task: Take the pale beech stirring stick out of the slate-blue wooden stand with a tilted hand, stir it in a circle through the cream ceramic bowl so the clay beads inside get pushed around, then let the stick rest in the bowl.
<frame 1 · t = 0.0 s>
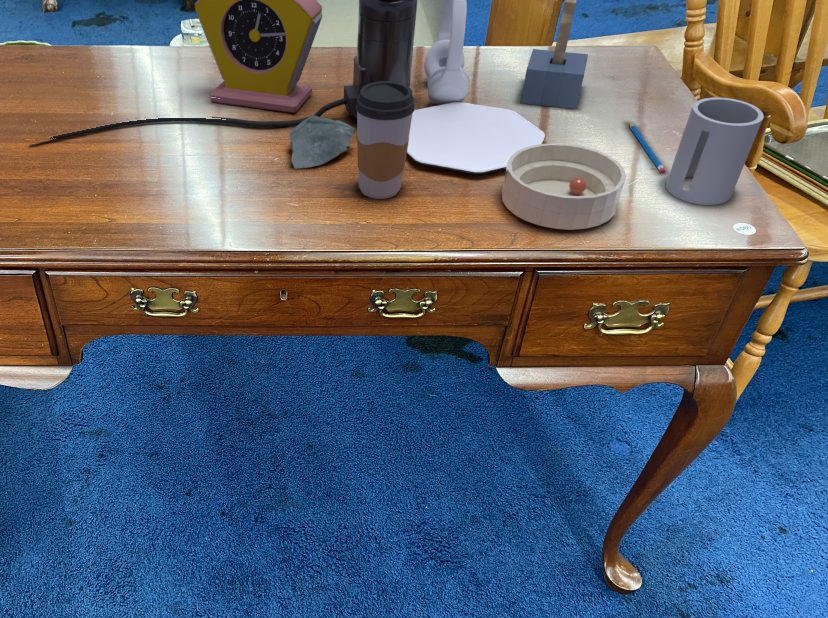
pencil: (644, 149, 130), on the table
stick: (560, 49, 140), in the stand
plate: (466, 144, 133), on the table
bowl: (557, 203, 118), on the table
yellow mantel clock: (261, 99, 148), on the table
stand: (550, 95, 145), on the table
stone: (317, 157, 131), on the table
headphones: (443, 96, 147), on the table
cup: (697, 190, 120), on the table
coffee cup: (379, 190, 123), on the table
bead terracotta: (577, 186, 118), point 2 cm above the table, touching bowl
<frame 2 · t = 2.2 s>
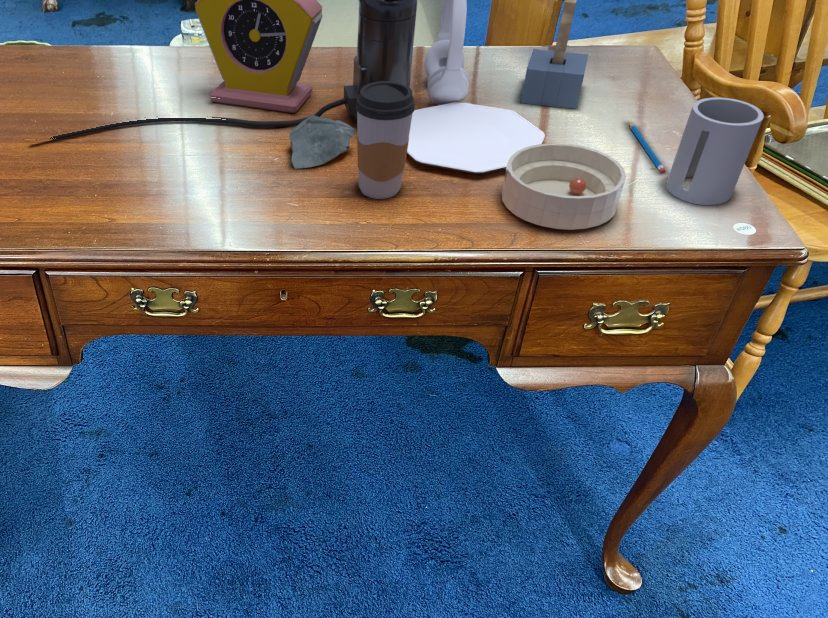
nothing on the table moved.
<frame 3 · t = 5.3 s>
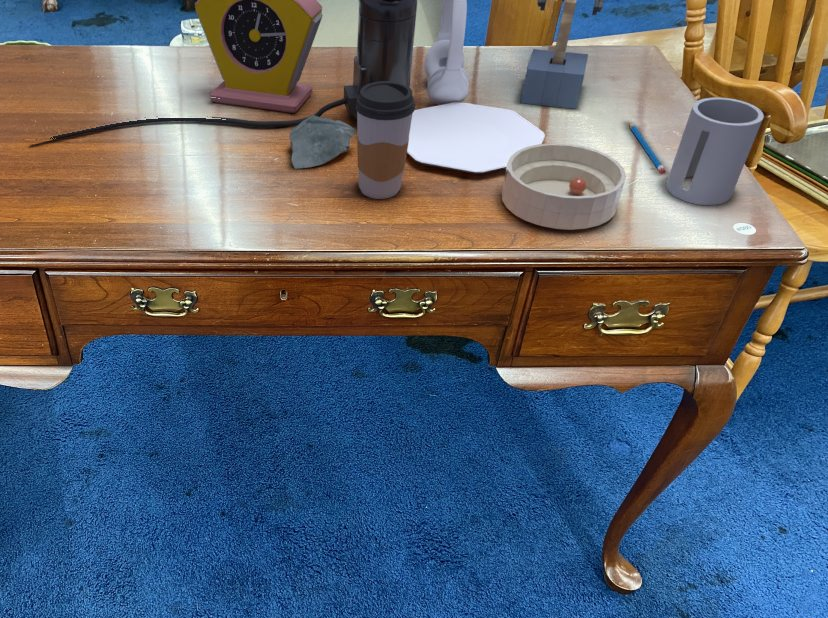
hand: (568, 10, 136), 14 cm above the table, tool tilted 45°, fingers open, 8 cm apart
nothing on the table moved.
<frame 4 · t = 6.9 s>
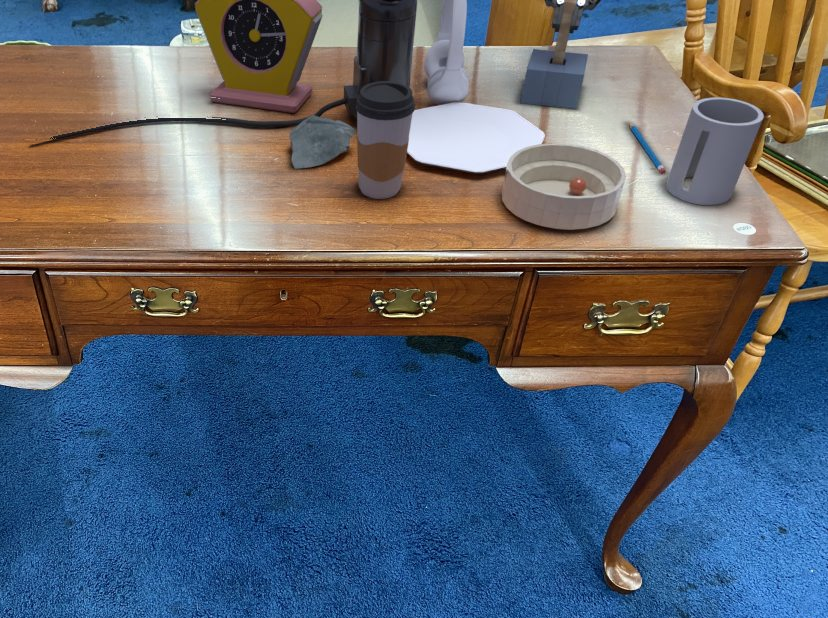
hand: (564, 30, 136), 12 cm above the table, tool tilted 45°, fingers closed on stick, 2 cm apart
stick: (560, 49, 140), in the stand, touching gripper
everything else where it was.
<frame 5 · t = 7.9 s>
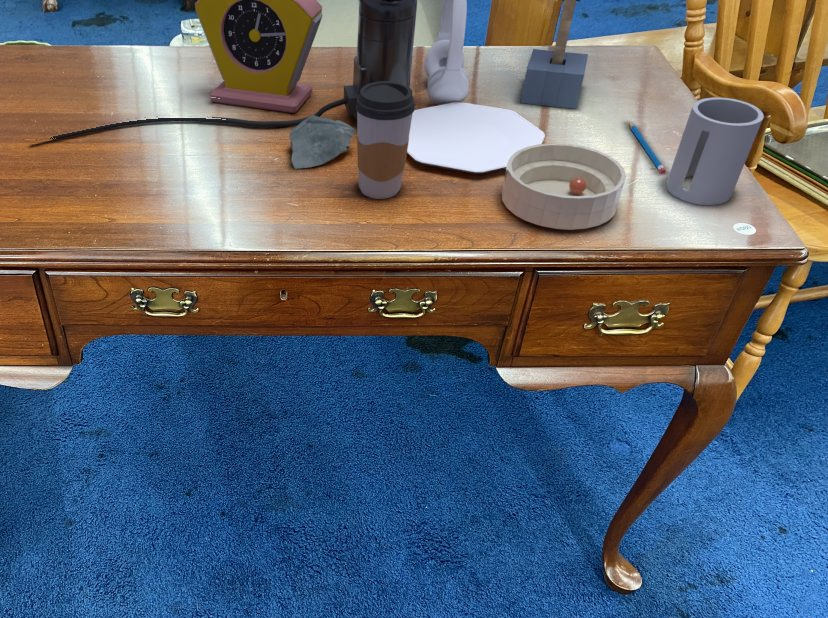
stick: (566, 18, 136), point 13 cm above the table, touching gripper
everything else where it was.
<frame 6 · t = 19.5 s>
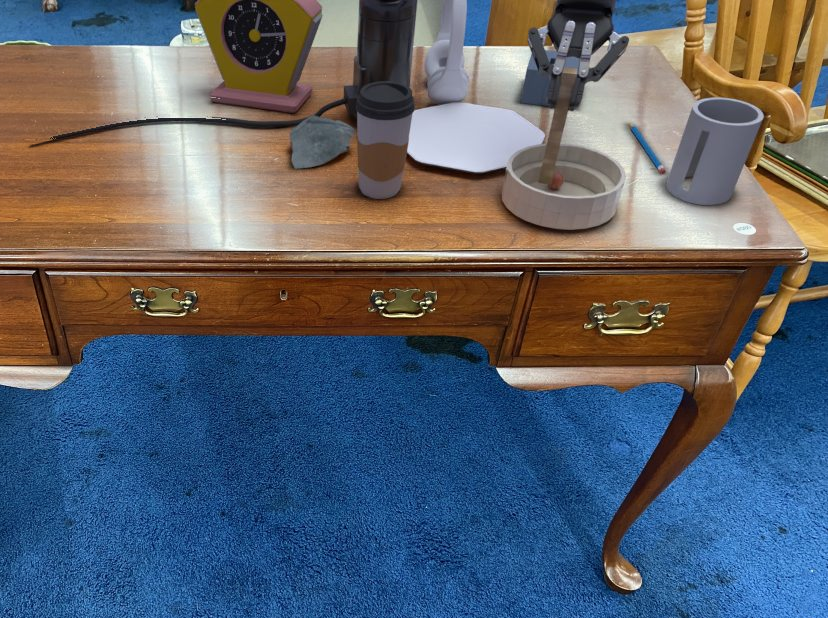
hand: (562, 107, 107), 15 cm above the table, tool tilted 45°, fingers closed on stick, 2 cm apart
stick: (557, 128, 112), point 11 cm above the table, touching gripper
bead terracotta: (555, 180, 119), point 2 cm above the table, tilted 159°, touching bowl
everything else where it was.
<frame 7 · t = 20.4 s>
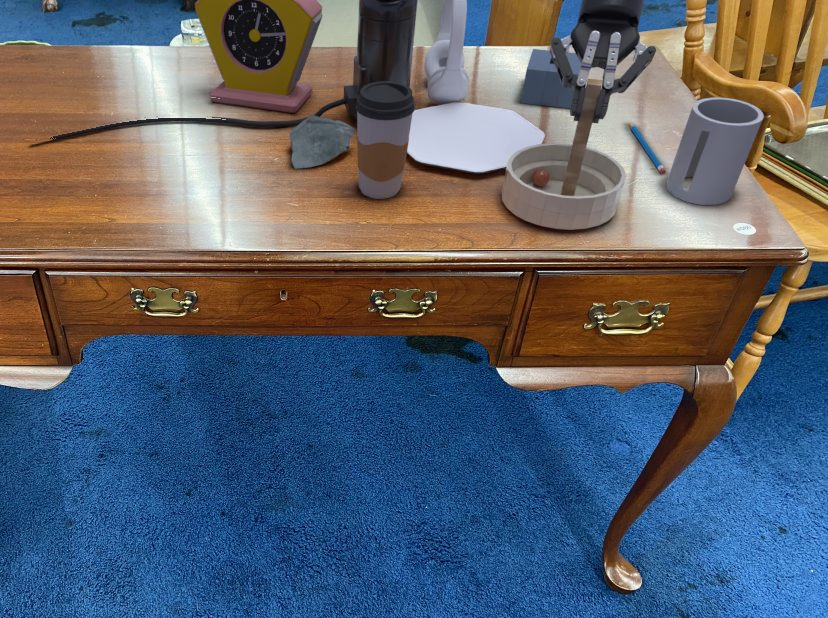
hand: (586, 119, 104), 15 cm above the table, tool tilted 45°, fingers closed on stick, 2 cm apart
stick: (580, 141, 108), point 11 cm above the table, touching gripper
bead terracotta: (541, 178, 120), point 2 cm above the table, tilted 103°, touching bowl
everything else where it was.
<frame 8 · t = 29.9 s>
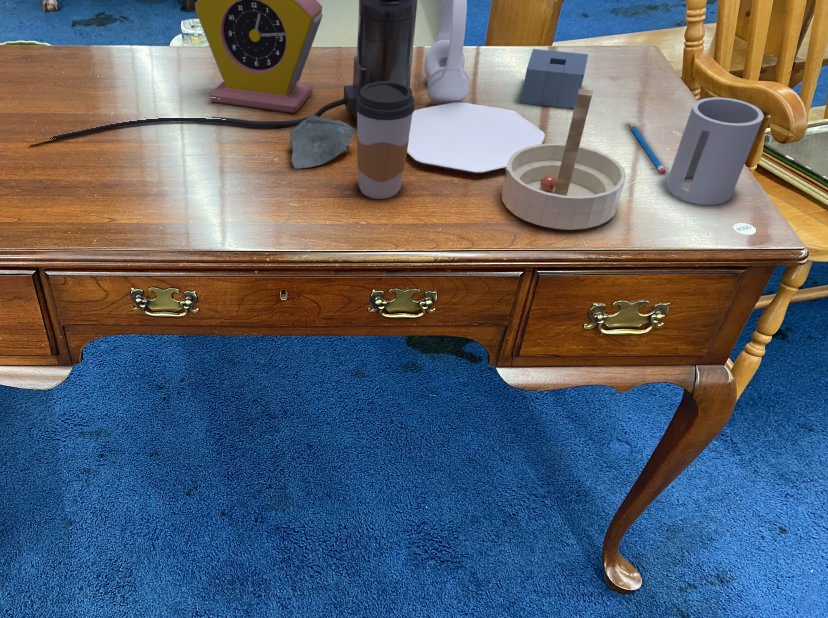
stick: (571, 148, 112), in the bowl, point 9 cm above the table
bead terracotta: (548, 183, 119), point 2 cm above the table, tilted 134°, touching bowl
everything else where it was.
at the end: stick inside the target area in the bowl (0.1 cm from its centre), point 8.6 cm above the bowl's base; bead terracotta moved 4.2 cm from its start; the gripper is holding nothing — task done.
